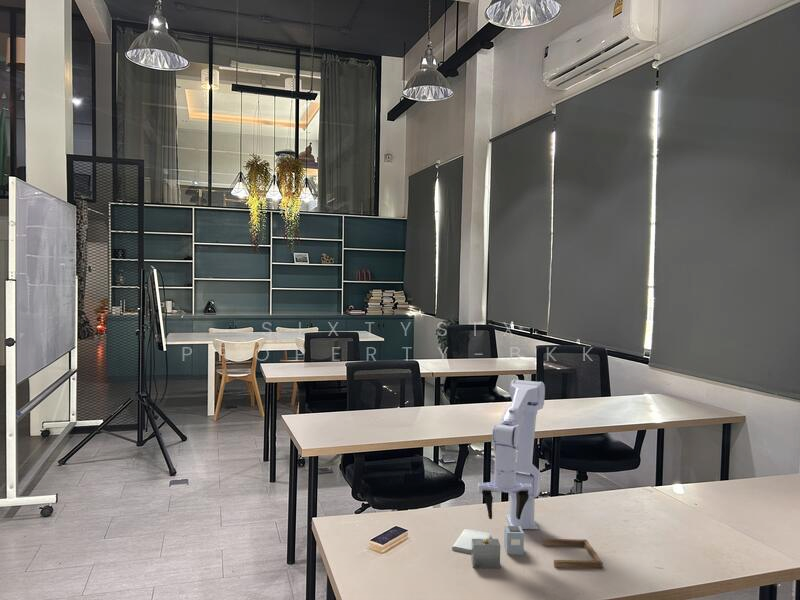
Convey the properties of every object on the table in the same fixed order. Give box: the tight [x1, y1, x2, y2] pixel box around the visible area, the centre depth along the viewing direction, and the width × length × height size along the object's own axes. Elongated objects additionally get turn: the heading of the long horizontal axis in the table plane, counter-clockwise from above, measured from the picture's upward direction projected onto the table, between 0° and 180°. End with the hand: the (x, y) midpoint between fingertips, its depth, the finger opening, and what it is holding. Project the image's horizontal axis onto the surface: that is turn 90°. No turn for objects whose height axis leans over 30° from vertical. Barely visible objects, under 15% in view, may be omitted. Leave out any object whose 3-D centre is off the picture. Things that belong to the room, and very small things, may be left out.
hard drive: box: [451, 528, 492, 555], centre depth 161 cm, size 2×8×12 cm
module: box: [503, 525, 525, 555], centre depth 157 cm, size 5×4×6 cm
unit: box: [470, 538, 501, 569], centre depth 149 cm, size 4×7×7 cm, turn 90°
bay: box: [541, 538, 604, 569], centre depth 154 cm, size 13×12×2 cm
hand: (504, 517), depth 155 cm, fingers open, 7 cm apart
